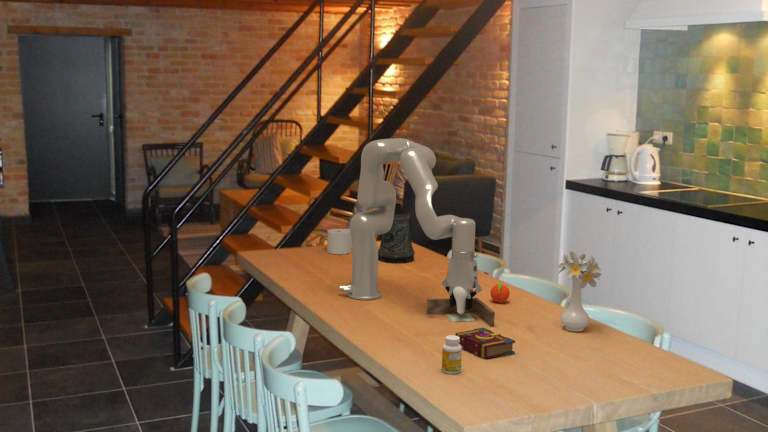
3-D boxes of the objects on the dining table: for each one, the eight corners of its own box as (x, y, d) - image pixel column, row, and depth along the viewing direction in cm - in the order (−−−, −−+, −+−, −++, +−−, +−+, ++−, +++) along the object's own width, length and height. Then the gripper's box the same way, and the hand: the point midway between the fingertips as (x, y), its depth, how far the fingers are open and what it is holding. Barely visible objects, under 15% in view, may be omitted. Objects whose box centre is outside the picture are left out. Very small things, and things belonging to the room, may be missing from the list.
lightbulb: (454, 310, 289) (456, 279, 287) (471, 312, 287) (473, 281, 285) (449, 315, 284) (451, 283, 282) (467, 317, 282) (469, 286, 280)
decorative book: (485, 361, 244) (485, 344, 243) (451, 345, 257) (452, 329, 257) (514, 354, 250) (515, 338, 249) (480, 340, 263) (481, 324, 263)
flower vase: (574, 339, 265) (579, 262, 261) (544, 323, 282) (548, 250, 278) (610, 336, 269) (615, 260, 265) (578, 320, 286) (582, 248, 282)
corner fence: (441, 329, 273) (441, 314, 272) (426, 313, 290) (427, 299, 290) (494, 326, 277) (494, 312, 276) (476, 311, 294) (477, 297, 293)
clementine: (508, 306, 302) (509, 287, 300) (489, 305, 303) (489, 285, 302) (509, 300, 309) (510, 281, 308) (490, 299, 311) (491, 280, 310)
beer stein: (414, 264, 365) (416, 207, 361) (370, 263, 366) (371, 206, 361) (414, 256, 382) (415, 201, 378) (371, 255, 382) (372, 200, 378)
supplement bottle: (440, 367, 237) (441, 334, 235) (459, 367, 238) (460, 334, 236) (443, 374, 232) (444, 340, 230) (462, 374, 232) (463, 340, 231)
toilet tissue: (324, 253, 383) (325, 232, 381) (330, 248, 394) (331, 227, 393) (347, 255, 381) (348, 233, 379) (353, 249, 392) (353, 228, 391)
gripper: (490, 256, 281) (488, 309, 284) (445, 250, 290) (444, 301, 293) (480, 260, 274) (478, 314, 277) (435, 253, 283) (433, 305, 287)
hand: (460, 307), depth 285 cm, fingers closed on lightbulb, 5 cm apart
